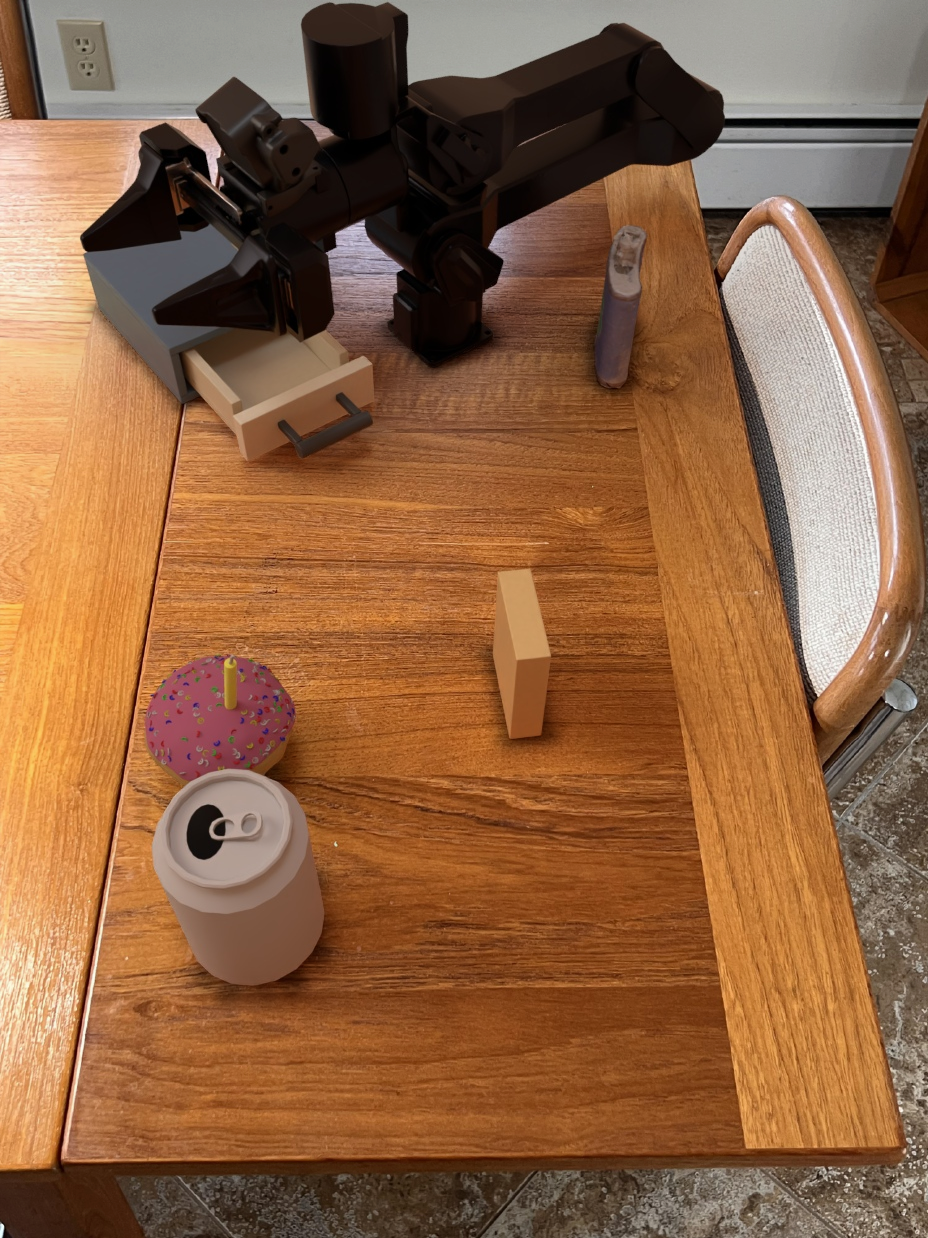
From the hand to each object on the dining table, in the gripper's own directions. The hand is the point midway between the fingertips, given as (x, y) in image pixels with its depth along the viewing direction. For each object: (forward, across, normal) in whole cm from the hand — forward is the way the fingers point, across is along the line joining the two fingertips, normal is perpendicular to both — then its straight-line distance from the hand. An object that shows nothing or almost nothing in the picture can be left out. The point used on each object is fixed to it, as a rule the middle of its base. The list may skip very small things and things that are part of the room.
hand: (117, 279), depth 71 cm
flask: (-35, +10, +18) cm, 40 cm away
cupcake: (+10, +24, +17) cm, 31 cm away
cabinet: (-10, -12, +17) cm, 23 cm away
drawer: (-10, -1, +16) cm, 19 cm away
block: (-7, +31, +17) cm, 36 cm away
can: (+14, +34, +16) cm, 40 cm away
